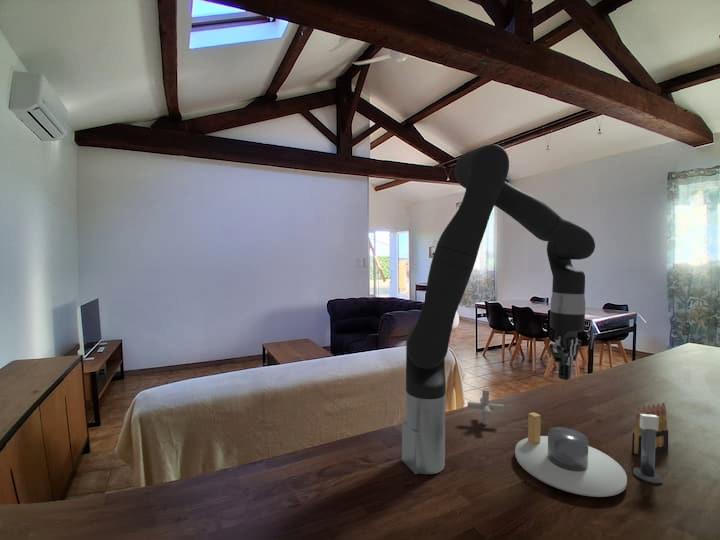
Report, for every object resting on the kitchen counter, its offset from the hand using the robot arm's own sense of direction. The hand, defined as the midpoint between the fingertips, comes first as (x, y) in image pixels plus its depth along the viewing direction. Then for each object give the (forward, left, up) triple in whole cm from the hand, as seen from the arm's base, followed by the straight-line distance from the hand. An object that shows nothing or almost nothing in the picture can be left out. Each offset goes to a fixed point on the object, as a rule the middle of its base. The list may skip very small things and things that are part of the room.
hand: (564, 378), depth 88 cm
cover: (-7, -6, -16) cm, 19 cm away
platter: (-7, -6, -17) cm, 20 cm away
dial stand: (+7, -15, -19) cm, 25 cm away
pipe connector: (-8, +19, -19) cm, 28 cm away
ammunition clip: (+20, -9, -19) cm, 29 cm away
